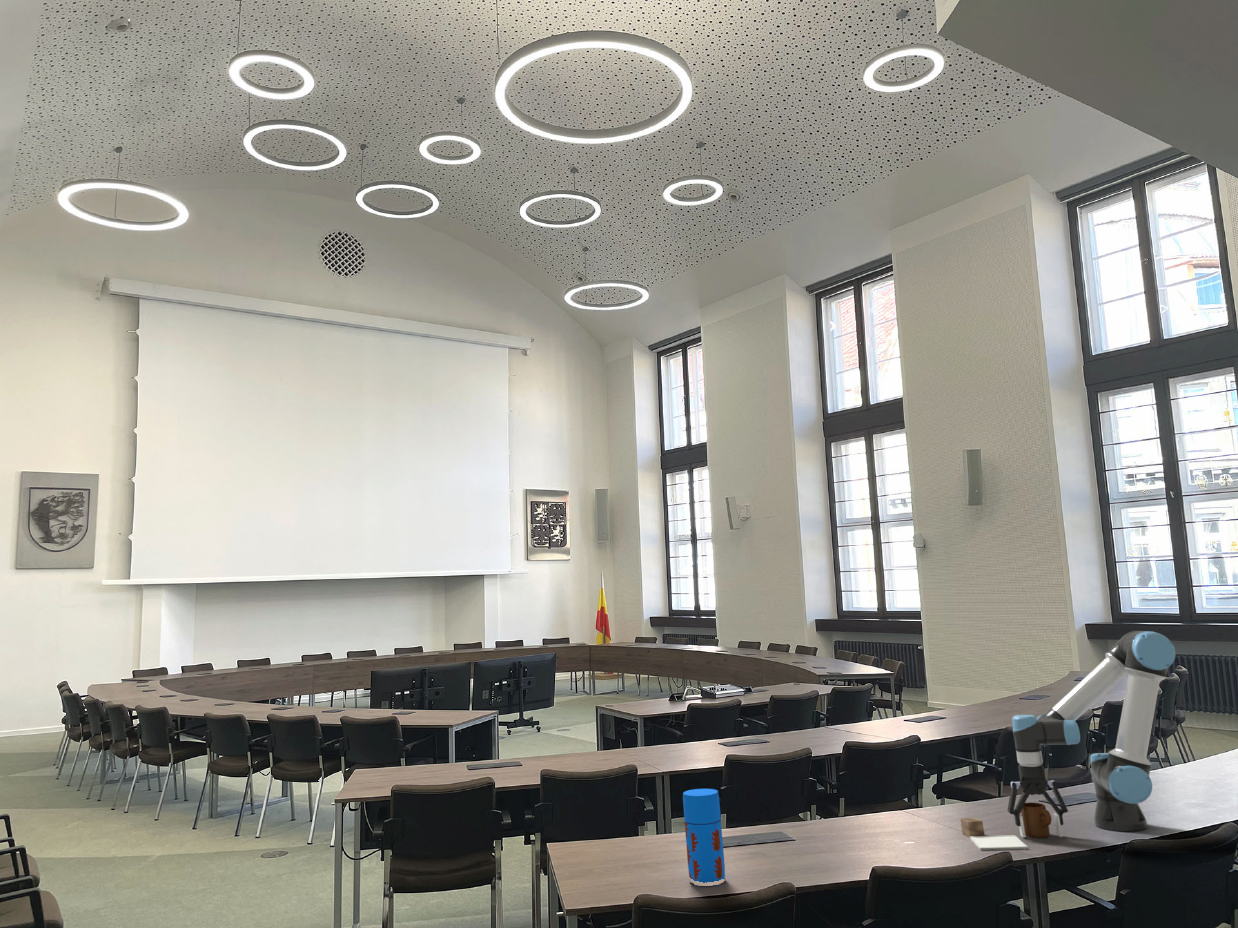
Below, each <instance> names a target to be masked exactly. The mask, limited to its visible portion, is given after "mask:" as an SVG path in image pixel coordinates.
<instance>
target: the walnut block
mask: <svg viewBox="0 0 1238 928" xmlns="http://www.w3.org/2000/svg"><path fill="white" fill-rule="evenodd" d="M983 822H984V821H983V820H982V819H979V818H977V817H966V818H965V817H964V818H960V824H961V825H960V827H961V831H962V835H963V836H965V837H967V838H969V839H970V836H985V830H984V823H983Z"/></svg>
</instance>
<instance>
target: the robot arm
mask: <svg viewBox="0 0 1238 928" xmlns="http://www.w3.org/2000/svg"><path fill="white" fill-rule="evenodd" d="M1175 659H1176V649H1175V646H1174V645H1173V643H1172V642H1171V640H1170V639H1169V638H1168V637H1167V636H1165V635H1163V634H1161V633H1159V632H1155V631H1150V630H1145V631H1144V630H1132V631H1130V632H1127V633H1126V634H1124V635H1123V636H1122V637H1121V638H1120V639H1119V640H1117V641H1116V643H1115V644H1114V645H1112V647H1111V648H1110V649H1109V650H1107V651H1106V652H1105V658H1104V659H1103V660H1102V661H1101V662H1100V663H1099V664H1098V665H1097V666H1095V667H1094V668H1093V669H1092V670H1091V671H1090V672H1089V673H1088V674H1087V675H1085V677H1084V678H1083V679H1082V680H1081V681H1079V682H1078V683H1077V684H1076V685H1075V686H1074V687H1073V688H1072V689H1071V690H1070V691H1068V693H1066V695H1064V696H1063V697H1062V698H1061V699H1059V701H1058V702H1057V703H1056V704H1054V705H1053V706H1052V708H1051V709H1050V710H1048V711H1047V712H1046V713H1045V714H1041V715H1039V716H1037V717H1036V715H1033V714H1016V715H1014V716H1012V718H1011V723H1012V733H1013V740H1014V744H1015V745H1014V747H1015V752H1016V760H1017V763H1018V764H1019V765H1018V774H1019V781H1010V782H1009V784H1010V793H1009V797H1008V798H1009V800H1008V805H1007V812H1008V814H1010V815H1014V821H1015V822H1014V823H1015V826H1017V827H1019V835H1020V837H1021V838H1025V839H1026V835H1025V831H1024V824H1023V817H1022V815H1021V811H1022V809H1023V806H1024V804H1025V803H1027V800H1028V798H1029V796H1034V795H1038V796H1039V795H1040V796H1041V795H1042V796H1043V797H1044V798H1045V800H1046V801H1047V802H1048V804H1049V805H1050V806H1051V808H1052V809H1053V810H1054V811H1055V812H1056V813H1053V817H1054V824H1055V825H1054V826H1055V830H1056V835H1057V836H1058V837H1060V838H1063V834H1062V833H1063V832H1062V826H1064V820H1063V815H1064V814H1065V813H1068V812H1069V809H1068V808H1067V805H1066V804H1065V801H1064V799H1063V797H1062V795H1061V793H1060V790H1059V788H1058V783H1057V781H1055V780H1054V779H1051V780H1047V779H1046V774H1045V767H1044V765H1043V763H1044V761H1043V760H1044V759H1043V753H1042V748H1041V746H1050V745H1051V746H1053V745H1055V746H1056V745H1062V746H1063V745H1067V746H1070V745H1078V744H1079V743H1080V742H1081V733H1080V728H1079V725H1078V723H1077V722H1076V721H1077V720H1078V719H1079V718H1080V717H1081V716H1082V715H1083V714H1084V713H1086V712H1087V711H1089V709H1090V708H1091V707H1092V706H1093V705H1095V703H1097V702H1098V701H1099V700H1100V698H1102V697H1103V696H1104V695H1105V694H1106V693H1107V692H1108V691H1109V690H1110V689H1112V688H1113V687H1114V686H1115V685H1116V684H1117V683H1118V682H1119V681H1120V680H1122V679H1123V678H1124V677H1125V676H1127V675H1128V676H1127V680H1126V681H1127V682H1126V687H1125V692H1124V698H1123V702H1122V703H1123V704H1122V710H1121V715H1120V721H1119V725H1118V731H1117V737H1116V741H1115V742H1116V744H1115V747H1114V748H1113V749H1111V750H1109V751H1108V752H1101V753H1100V752H1097V753H1096V752H1095V753H1092V754H1090V757H1089V759H1090V763H1089V764H1090V766H1091V773H1092V778H1093V779H1092V780H1093V785H1094V791H1095V796H1096V804H1095V810H1094V815H1093V821H1094V825H1095V826H1096V827H1098V828H1100V829H1104V830H1110V831H1117V832H1138V831H1142V830H1143V831H1144V830H1146V829H1148V821H1147V818H1146V817H1145V814H1144V813H1143V810H1142V808H1141V806H1140V805H1139V804H1141V803H1143V802H1145V801H1146V800H1148V798H1149V797H1151V795H1152V791H1153V782H1152V779H1151V777H1150V772H1151V767H1152V763H1151V762H1150V760H1149V759H1148V757H1147V756H1148V750H1149V745H1150V739H1151V734H1152V733H1151V732H1152V729H1153V728H1152V726H1153V722H1154V716H1155V710H1156V705H1157V698H1158V693H1159V688H1160V687H1159V686H1160V683H1161V682H1162V681H1164V680H1166V679H1167V676H1168V669H1169V668H1170V667H1171V665H1172V664H1173V663H1174V662H1175ZM1048 786H1049V788H1051V791H1052V793H1053V794H1054V797H1055V800H1056V801H1057V803H1058V805H1059V806H1058V805H1057V804H1056V802H1055V801H1054V800H1053V798H1051V796H1050V795H1049V793H1048V792H1047V790H1046V788H1047V787H1048ZM1019 787H1021V788H1022V791H1021V795H1020V797H1019V799H1018V800H1017V796H1018V795H1017V794H1018V789H1019ZM1016 800H1017V801H1018V802H1017V803H1016Z"/></svg>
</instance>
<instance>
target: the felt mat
mask: <svg viewBox="0 0 1238 928" xmlns="http://www.w3.org/2000/svg"><path fill="white" fill-rule="evenodd" d="M969 839H970V840H971V842H972V843H973V844H974V845H975V846H976V847H977V849H979V850H980V851H1006V850H1007V851H1011V850H1015V851H1016V850H1017V851H1018V850H1029V846H1028V845H1026V844H1025V843H1024V841H1023V842H1022V839H1021V840H1020V839H1019V837H1017V835H1015V834H1010V835H984V836H970V838H969Z"/></svg>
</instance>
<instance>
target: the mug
mask: <svg viewBox="0 0 1238 928" xmlns="http://www.w3.org/2000/svg"><path fill="white" fill-rule="evenodd" d="M1020 815H1021V816H1022V817H1023V824H1024V831H1025V837H1026V836H1027V837H1028V838H1034V839H1043V838H1048V837H1049V836H1050V835H1051V833H1050V827H1049V826H1050V825H1051V824H1052V815H1051V813H1050V811H1048V810H1047V807H1046V804H1044V803H1042V802H1041V803H1040V802H1025V804H1024V806H1023V809H1022V811H1021V813H1020Z"/></svg>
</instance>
